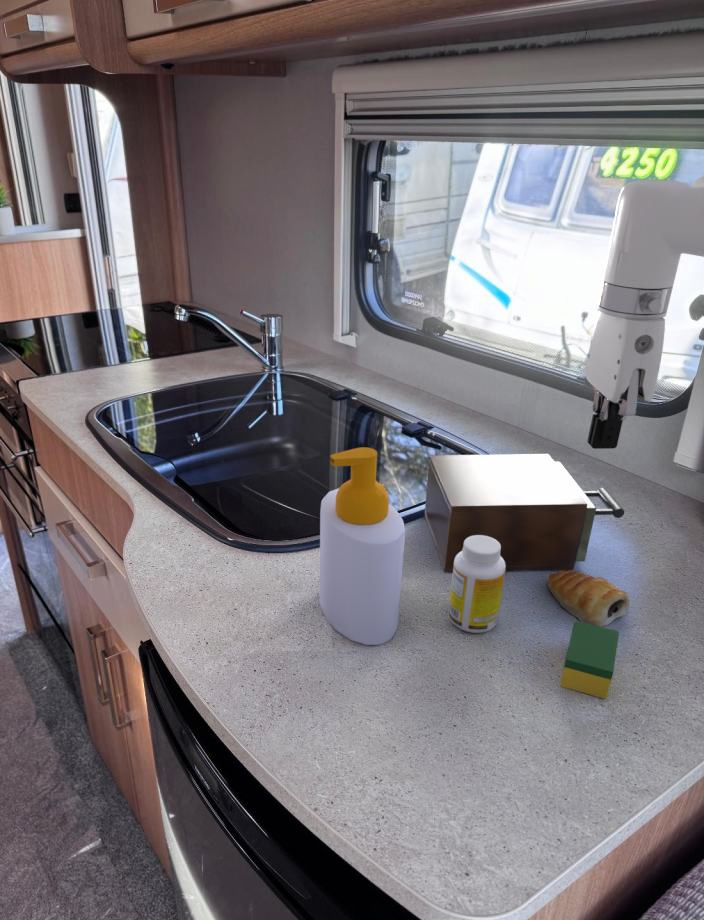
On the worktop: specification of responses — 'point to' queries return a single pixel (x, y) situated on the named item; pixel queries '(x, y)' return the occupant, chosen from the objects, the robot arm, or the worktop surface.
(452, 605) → the supplement bottle
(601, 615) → the pastry
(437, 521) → the cabinet
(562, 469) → the drawer
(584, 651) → the sponge
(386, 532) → the soap bottle
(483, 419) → the worktop surface
